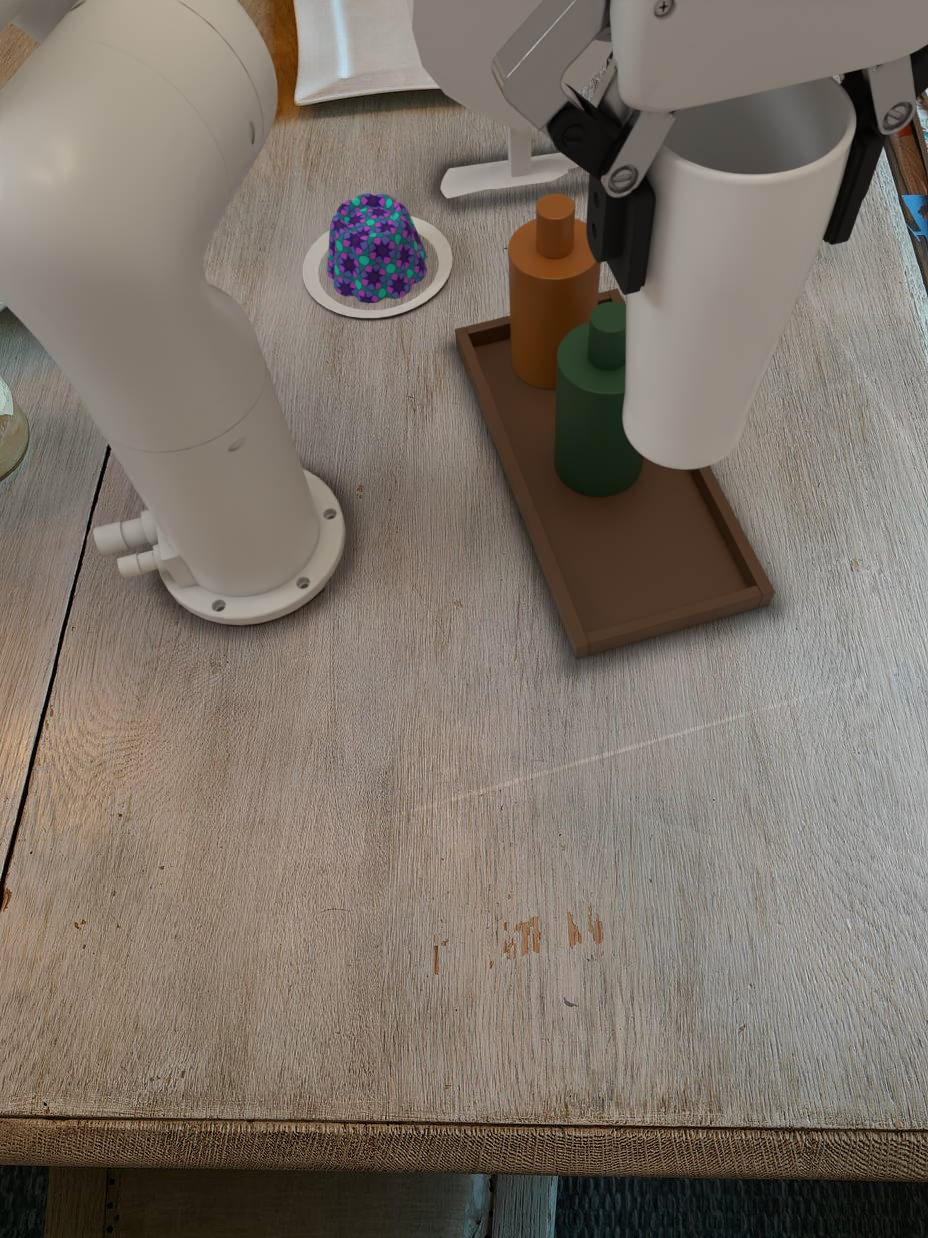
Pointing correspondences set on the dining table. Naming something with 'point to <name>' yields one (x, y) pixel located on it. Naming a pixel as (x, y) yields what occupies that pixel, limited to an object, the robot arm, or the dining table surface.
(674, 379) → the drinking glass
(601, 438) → the green bottle
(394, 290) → the pudding
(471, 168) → the heart sculpture
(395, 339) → the dining table surface
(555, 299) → the amber bottle
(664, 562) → the tray
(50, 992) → the dining table surface
